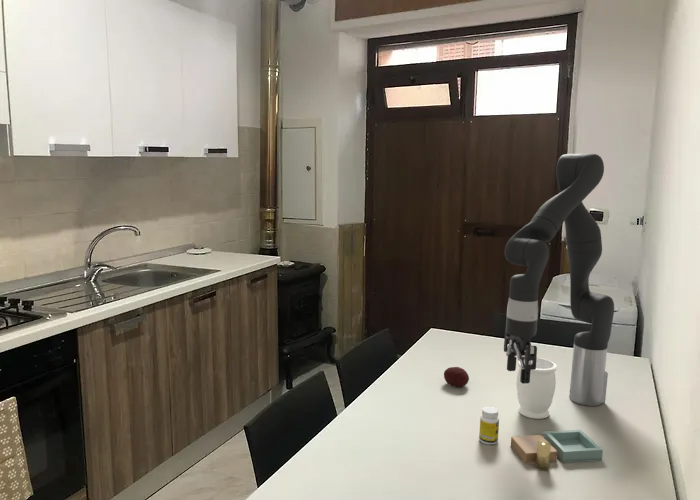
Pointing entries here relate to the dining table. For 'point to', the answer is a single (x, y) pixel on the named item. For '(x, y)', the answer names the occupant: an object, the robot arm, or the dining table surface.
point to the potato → (456, 377)
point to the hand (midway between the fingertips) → (517, 376)
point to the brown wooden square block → (530, 448)
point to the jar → (537, 389)
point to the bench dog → (543, 455)
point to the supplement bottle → (489, 426)
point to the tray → (574, 446)
